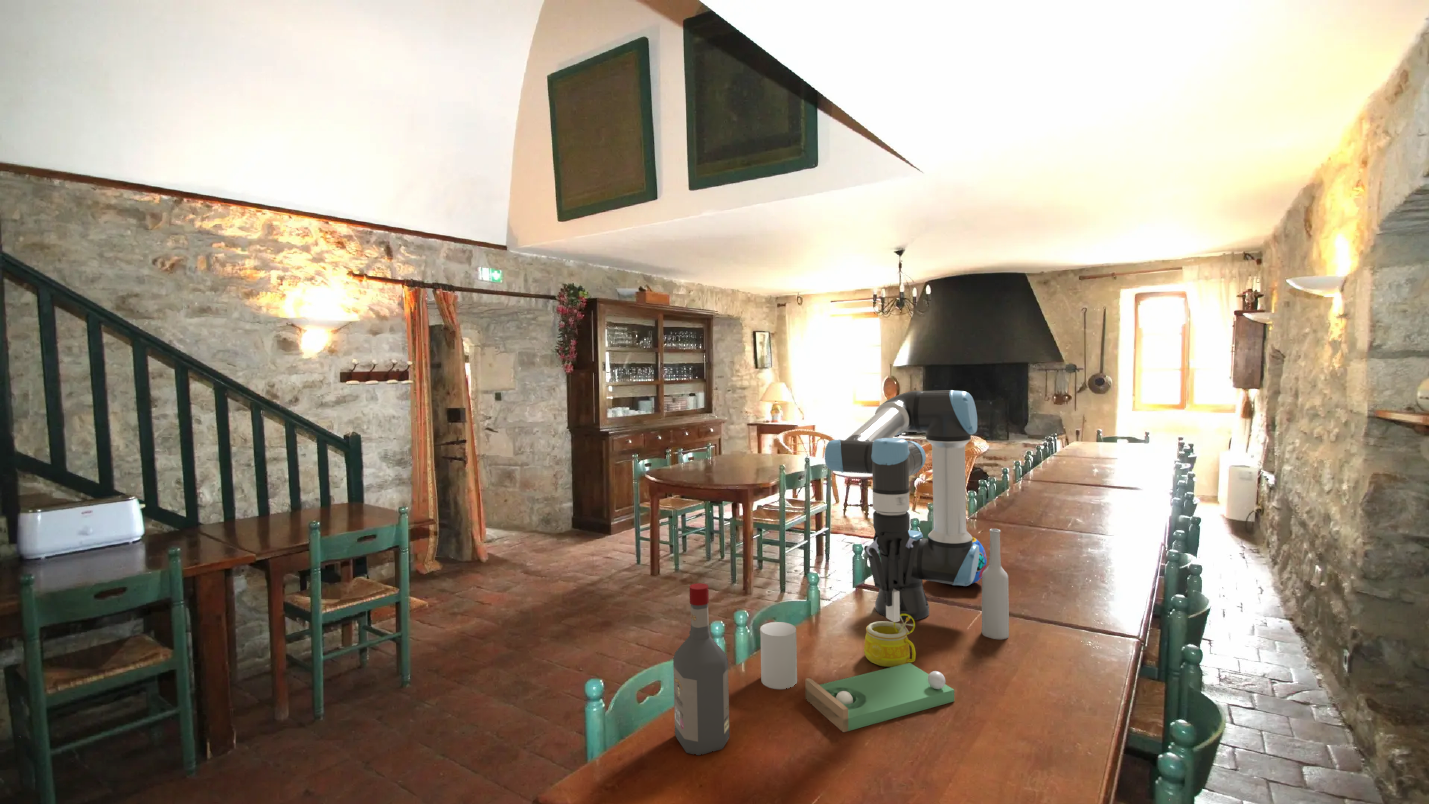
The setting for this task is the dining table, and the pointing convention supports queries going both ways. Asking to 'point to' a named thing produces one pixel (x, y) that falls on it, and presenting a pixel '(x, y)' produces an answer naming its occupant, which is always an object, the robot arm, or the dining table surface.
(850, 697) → the ball
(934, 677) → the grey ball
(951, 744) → the dining table surface
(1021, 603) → the dining table surface
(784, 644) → the cup
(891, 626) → the mug
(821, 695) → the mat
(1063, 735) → the dining table surface
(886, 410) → the robot arm
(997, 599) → the bottle
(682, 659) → the liquor
